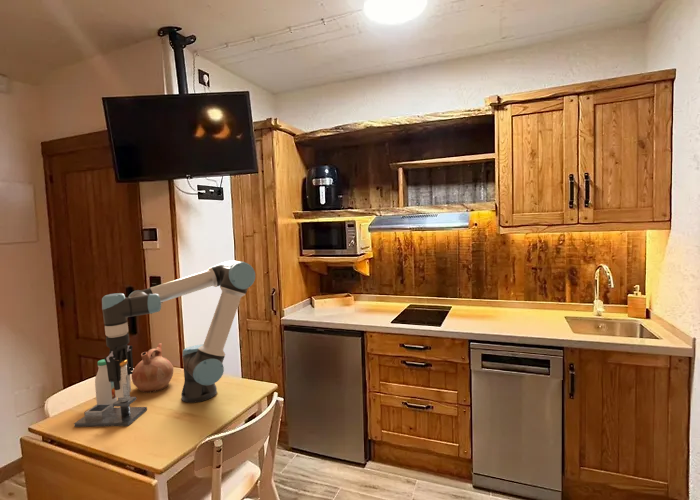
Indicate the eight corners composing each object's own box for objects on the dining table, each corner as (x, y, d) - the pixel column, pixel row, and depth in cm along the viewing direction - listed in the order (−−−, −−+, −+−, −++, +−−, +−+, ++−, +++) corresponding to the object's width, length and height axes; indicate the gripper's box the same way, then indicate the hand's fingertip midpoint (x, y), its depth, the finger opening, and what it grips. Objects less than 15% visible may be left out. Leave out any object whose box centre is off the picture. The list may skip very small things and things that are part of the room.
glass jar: (134, 396, 151) (129, 358, 150) (126, 402, 146) (122, 363, 145) (122, 397, 151) (117, 359, 150) (114, 402, 146) (109, 363, 145)
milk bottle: (107, 408, 169) (103, 363, 167) (92, 407, 170) (88, 363, 169) (121, 400, 176) (117, 357, 175) (106, 399, 178) (103, 357, 176)
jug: (149, 379, 200) (146, 341, 199) (182, 380, 197) (179, 341, 196) (124, 395, 182) (120, 353, 180) (159, 396, 179) (156, 354, 178)
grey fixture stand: (146, 410, 166) (144, 379, 165) (128, 426, 153) (125, 392, 152) (97, 411, 167) (94, 380, 166) (74, 427, 154) (71, 393, 153)
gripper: (121, 328, 155) (127, 385, 157) (91, 342, 138) (98, 405, 140) (139, 327, 155) (145, 384, 157) (112, 341, 138) (119, 404, 140)
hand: (123, 394), depth 149 cm, fingers closed on glass jar, 4 cm apart
